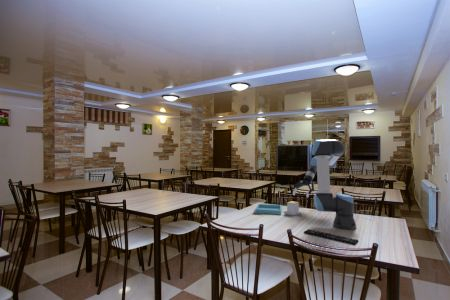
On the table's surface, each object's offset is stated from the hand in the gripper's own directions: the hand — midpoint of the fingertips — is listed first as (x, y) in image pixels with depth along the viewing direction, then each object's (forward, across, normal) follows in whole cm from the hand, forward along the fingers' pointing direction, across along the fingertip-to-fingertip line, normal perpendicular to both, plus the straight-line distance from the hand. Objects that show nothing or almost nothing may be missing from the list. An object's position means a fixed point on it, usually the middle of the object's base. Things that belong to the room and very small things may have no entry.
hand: (300, 195), depth 225 cm
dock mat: (+18, 0, -3) cm, 19 cm away
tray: (+23, +21, +2) cm, 31 cm away
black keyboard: (+39, -47, +17) cm, 64 cm away
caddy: (+18, 0, -2) cm, 18 cm away
